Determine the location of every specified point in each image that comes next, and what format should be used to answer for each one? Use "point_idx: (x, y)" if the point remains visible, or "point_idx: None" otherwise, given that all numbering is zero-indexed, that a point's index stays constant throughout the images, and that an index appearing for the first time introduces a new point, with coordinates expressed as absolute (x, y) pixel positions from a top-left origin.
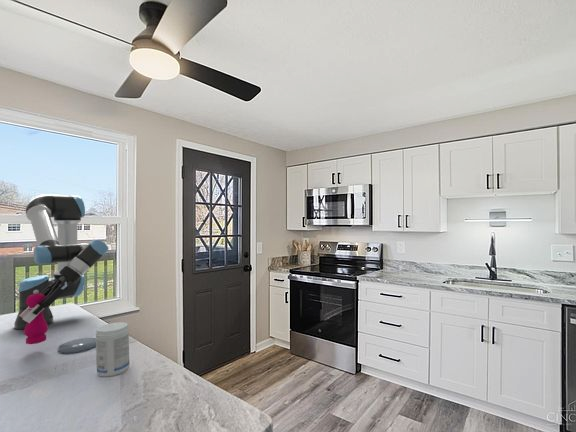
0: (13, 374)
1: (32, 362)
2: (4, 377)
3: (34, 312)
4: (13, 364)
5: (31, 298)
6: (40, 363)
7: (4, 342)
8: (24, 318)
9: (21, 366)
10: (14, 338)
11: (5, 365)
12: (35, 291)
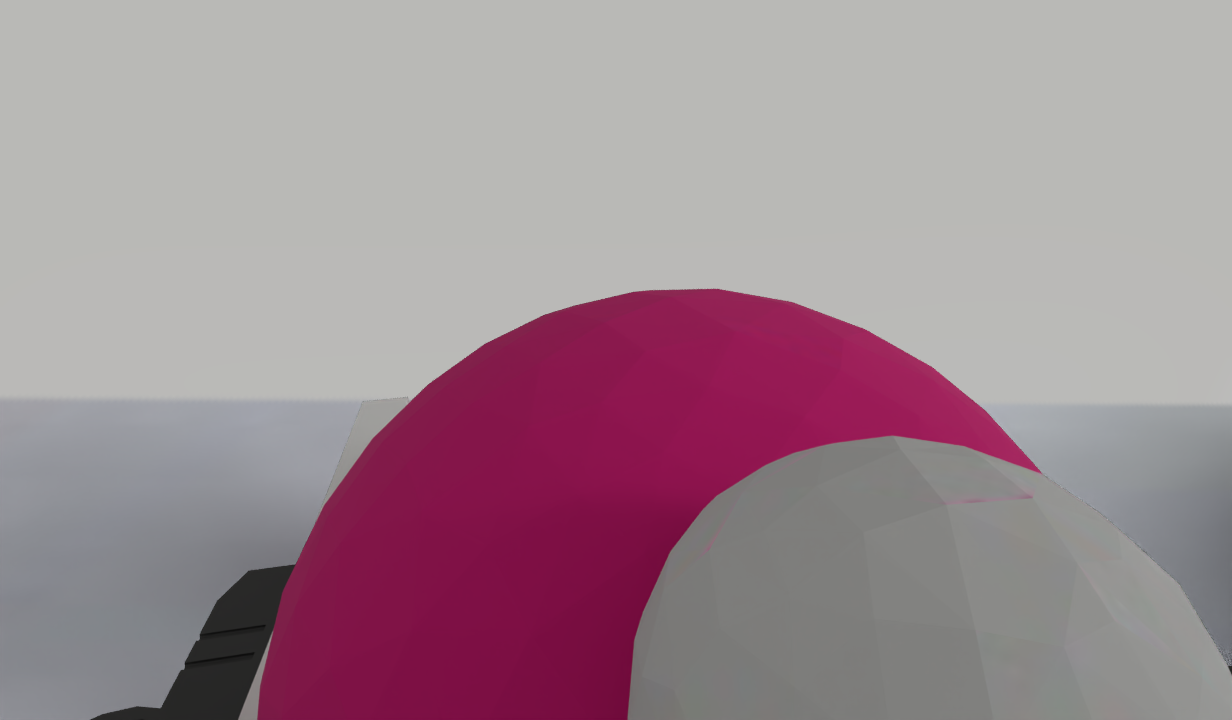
0: (19, 457)
1: (212, 607)
2: (18, 398)
3: (229, 608)
4: (317, 460)
5: (382, 435)
6: (94, 679)
7: (1055, 404)
8: (362, 427)
9: (186, 517)
10: (1144, 474)
11: (351, 406)
12: (677, 642)
